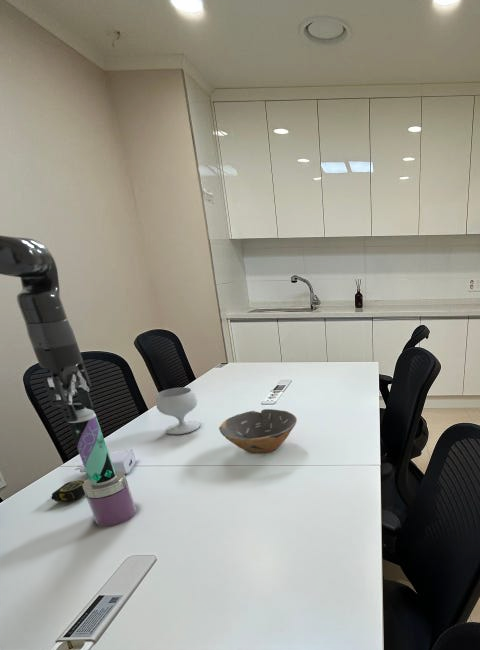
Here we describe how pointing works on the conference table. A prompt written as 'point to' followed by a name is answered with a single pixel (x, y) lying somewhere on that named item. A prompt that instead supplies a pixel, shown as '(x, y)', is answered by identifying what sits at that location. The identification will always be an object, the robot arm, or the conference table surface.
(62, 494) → the tape measure
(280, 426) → the bowl
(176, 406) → the chalice
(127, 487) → the jar
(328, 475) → the conference table surface
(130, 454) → the charger
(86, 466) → the spray can
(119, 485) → the jar lid
